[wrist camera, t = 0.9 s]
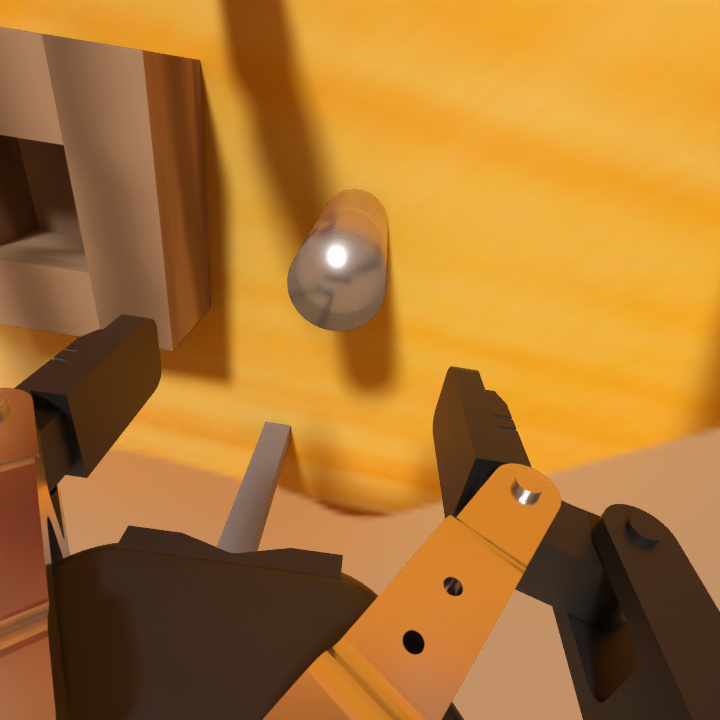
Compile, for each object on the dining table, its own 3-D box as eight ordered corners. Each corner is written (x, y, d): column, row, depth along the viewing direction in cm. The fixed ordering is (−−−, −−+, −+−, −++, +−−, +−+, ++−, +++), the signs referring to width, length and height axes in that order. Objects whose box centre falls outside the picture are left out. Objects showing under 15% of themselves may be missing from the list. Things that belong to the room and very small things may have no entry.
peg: (393, 195, 25) (393, 247, 17) (382, 261, 27) (376, 337, 19) (325, 184, 25) (290, 230, 17) (319, 251, 27) (285, 323, 19)
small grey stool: (304, 334, 30) (63, 981, 8) (294, 449, 36) (138, 1013, 14) (2, 287, 30) (-1101, 832, 8) (41, 411, 36) (-532, 928, 14)
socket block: (199, 60, 22) (142, 50, 17) (210, 306, 30) (172, 350, 25) (-75, 15, 22) (-215, -9, 17) (5, 274, 29) (-77, 312, 24)
